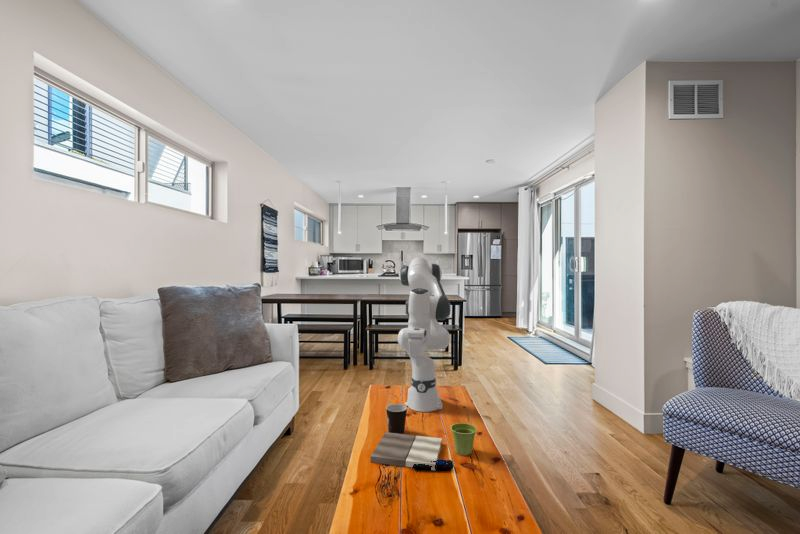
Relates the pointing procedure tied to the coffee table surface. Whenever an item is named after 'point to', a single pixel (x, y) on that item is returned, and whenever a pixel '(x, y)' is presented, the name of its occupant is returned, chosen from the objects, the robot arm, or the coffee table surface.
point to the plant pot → (463, 437)
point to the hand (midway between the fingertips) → (419, 365)
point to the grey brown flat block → (393, 449)
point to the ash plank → (424, 451)
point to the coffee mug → (396, 418)
